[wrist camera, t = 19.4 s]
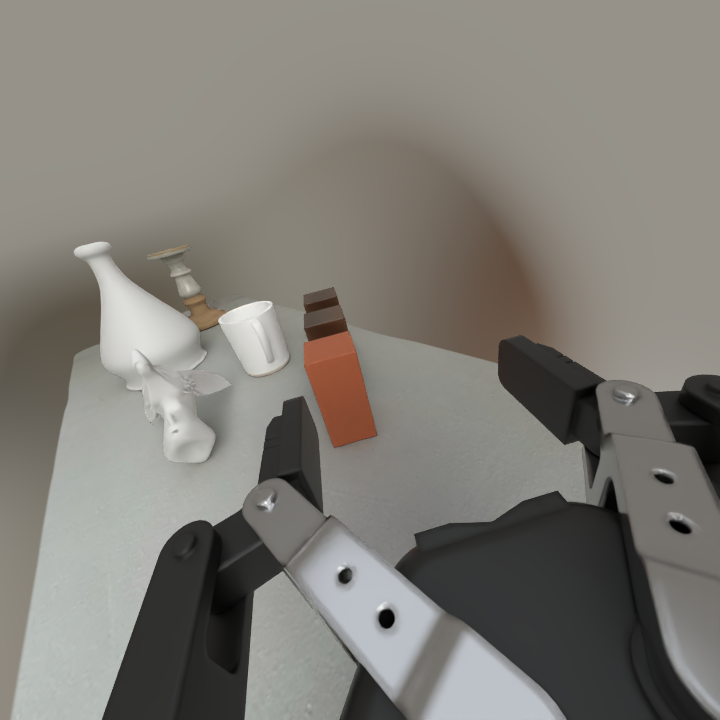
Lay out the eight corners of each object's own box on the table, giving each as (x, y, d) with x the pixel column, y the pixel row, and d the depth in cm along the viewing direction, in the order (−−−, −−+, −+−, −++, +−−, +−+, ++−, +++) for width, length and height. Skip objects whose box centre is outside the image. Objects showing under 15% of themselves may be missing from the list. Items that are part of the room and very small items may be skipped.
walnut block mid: (357, 371, 45) (339, 304, 40) (363, 390, 41) (344, 317, 35) (325, 380, 45) (303, 313, 40) (328, 399, 41) (303, 328, 35)
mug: (239, 366, 55) (214, 316, 50) (283, 346, 59) (263, 297, 54) (254, 390, 47) (225, 333, 42) (304, 366, 50) (284, 309, 45)
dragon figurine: (62, 445, 23) (62, 342, 30) (174, 508, 37) (155, 426, 44) (216, 378, 27) (184, 302, 35) (264, 457, 41) (234, 390, 48)
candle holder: (184, 324, 87) (145, 254, 77) (226, 310, 91) (194, 241, 81) (182, 337, 77) (137, 259, 67) (230, 321, 81) (193, 244, 71)
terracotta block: (368, 408, 37) (348, 330, 32) (377, 435, 33) (356, 351, 28) (330, 419, 37) (303, 342, 32) (333, 448, 33) (303, 365, 27)
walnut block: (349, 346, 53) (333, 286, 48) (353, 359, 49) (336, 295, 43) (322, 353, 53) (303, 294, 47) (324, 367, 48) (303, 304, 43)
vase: (134, 404, 52) (22, 258, 39) (113, 380, 63) (21, 261, 50) (224, 354, 62) (158, 226, 49) (193, 341, 73) (132, 234, 60)
